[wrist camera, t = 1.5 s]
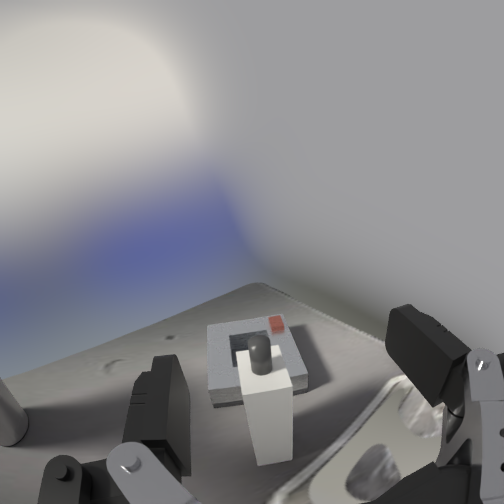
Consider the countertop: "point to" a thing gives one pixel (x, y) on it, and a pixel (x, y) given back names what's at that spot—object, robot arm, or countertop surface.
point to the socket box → (236, 339)
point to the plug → (267, 400)
